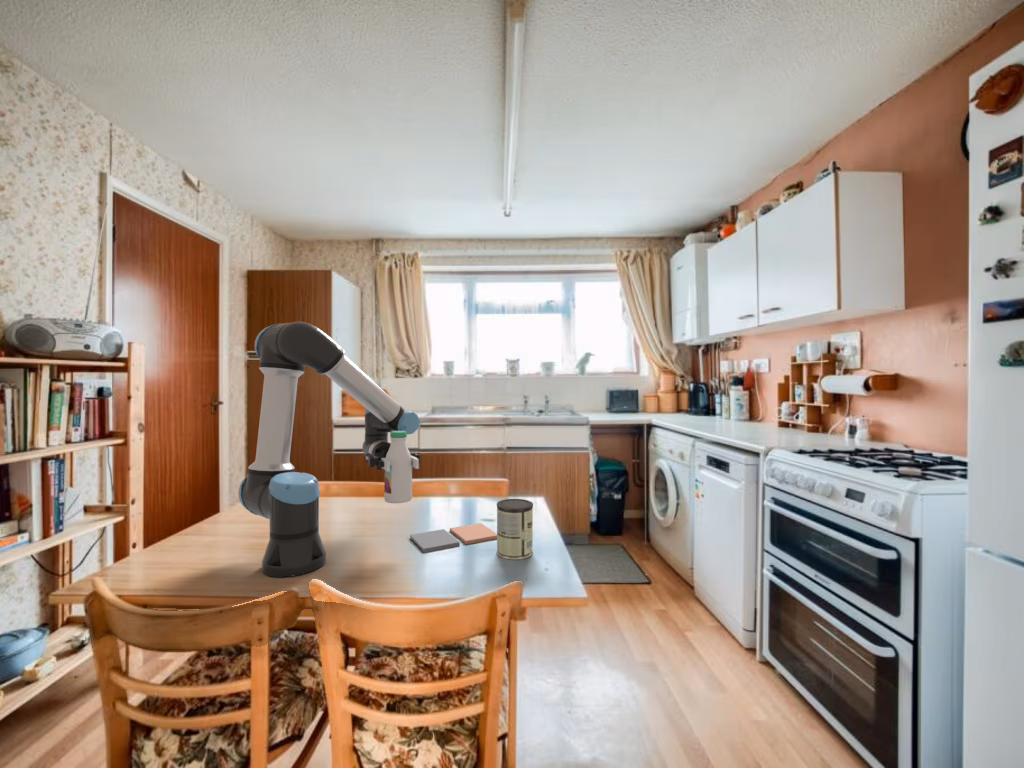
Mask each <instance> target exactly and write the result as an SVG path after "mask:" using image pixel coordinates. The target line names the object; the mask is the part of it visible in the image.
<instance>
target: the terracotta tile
mask: <svg viewBox="0 0 1024 768" xmlns="http://www.w3.org/2000/svg"><path fill="white" fill-rule="evenodd" d="M449 533H450V534H453V535H454V536H455V537H456V538H457V539H459V540H460V541H461V542H462V543H464V544H465V545H469V544H476V543H481V542H485V541H490V540H497V532H495V531H494V530H492V529H491V528H489V527H487V526H486V525H484V524H483V523H482V522H478V523H473V524H467V525H461V526H454V527H449Z"/></svg>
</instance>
